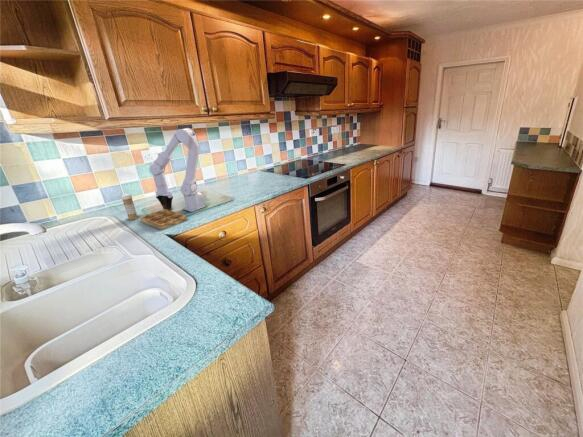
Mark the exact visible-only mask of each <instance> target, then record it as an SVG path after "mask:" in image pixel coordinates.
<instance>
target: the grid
mask: <svg viewBox="0 0 583 437" xmlns="http://www.w3.org/2000/svg"><path fill="white" fill-rule="evenodd" d="M187 220H188V219H187V215H185V214H183V213H182V214H181V213H179V212H176V211H172V210H171V211H170V210H167V209H164V210H163V209H161V210H158V211H154V212H152V213H149V214H146V215H144V216H140V221H141V223H144V224H146V225H148V226H151V227H154V228H156V229H158V230H161V231H163V230H167V229H168V228H171V227H173V226H176V225H179V224H181V223H183V222H186V221H187Z"/></svg>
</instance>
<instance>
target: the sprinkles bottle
mask: <svg viewBox="0 0 583 437" xmlns="http://www.w3.org/2000/svg"><path fill="white" fill-rule="evenodd" d="M120 198H121V200H122V202H123V205H124V209H125V213H126V215H127V217H128V218H127V219H128V220H129V221H132V220H136V219H138V218H139V216H138V214H137V209H136V207H135V204H134V201H133V196H132V193H125V194H122V195H121V196H120Z"/></svg>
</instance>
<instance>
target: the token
mask: <svg viewBox="0 0 583 437" xmlns="http://www.w3.org/2000/svg"><path fill="white" fill-rule="evenodd" d="M161 207H162V210H164V209H167V207H166V204H163V205H161ZM167 210H170V211H172V210H173V208H171V209H167Z"/></svg>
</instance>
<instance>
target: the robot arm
mask: <svg viewBox="0 0 583 437" xmlns="http://www.w3.org/2000/svg"><path fill="white" fill-rule="evenodd" d="M196 135H197V133H196V132H194V130H193V129H191V128H190V127H185V128H178V129H177V130H176V131H175V133H173V135H172V137H171V139H170V141H169V142H168V145H167V146H166V148H165V150H164V151H160V152H157V158H156V159H155V160H154V161H153V163H152V164H150V165H149V167H148V169H149V170H148V171H149V172H150V175H151V174H152V177H153V182H154V185H155V188H156V190H155V192H154V193H155V198H156V199H157V201H158V202H159V203H160V205H161V206H162V205H163V204H166V207H167V209H171V208H172V207H173V205H172V204H173V199H174V196H173V194H172V193H171V192H170V191H169V187H168V183H167V179H166V175H165V171H166V168H167V166H168V164H169V162H170V161H171V160H172V156H171V155H172V154H173V152H174V151H175V150H176V148H177V147H178V146H179V144H183V145H185V147H186V148H187V149H188V151H187V157H186V158H187V160H186V166H185V176H184V179H183V182H182V185H181V186H180V188H179V189H180V193H181V194H182V195H183V200H184V203H185V207H184V208H183V210H184V211H188V212H189V213H192V212H195V211H198V210H200V209H203V208H206V205H205V202H204V196H203V194H202V193H201V192H200V191H197V189H198V184H197V179H196V176H197V167H198V161H199V154H200V144H199V142H198V139H197V136H196ZM172 209H173V208H172Z"/></svg>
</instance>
